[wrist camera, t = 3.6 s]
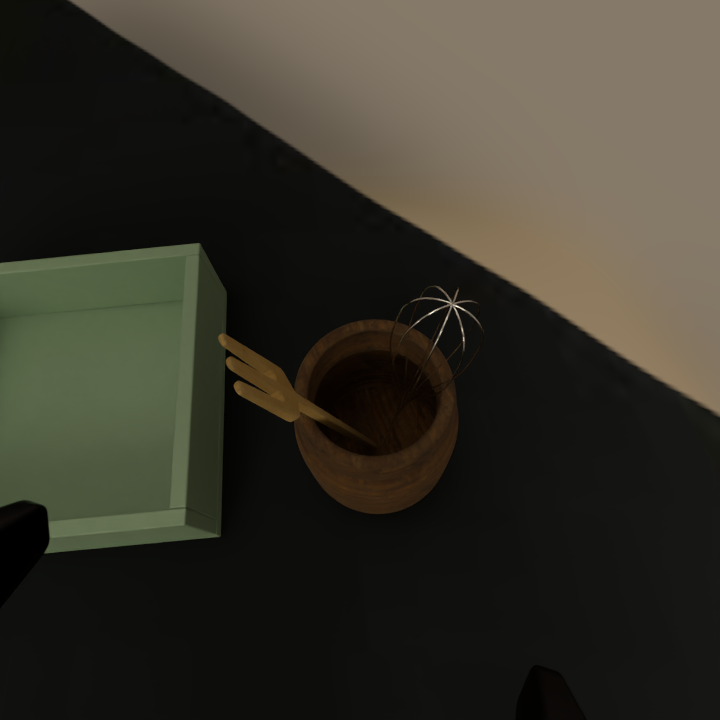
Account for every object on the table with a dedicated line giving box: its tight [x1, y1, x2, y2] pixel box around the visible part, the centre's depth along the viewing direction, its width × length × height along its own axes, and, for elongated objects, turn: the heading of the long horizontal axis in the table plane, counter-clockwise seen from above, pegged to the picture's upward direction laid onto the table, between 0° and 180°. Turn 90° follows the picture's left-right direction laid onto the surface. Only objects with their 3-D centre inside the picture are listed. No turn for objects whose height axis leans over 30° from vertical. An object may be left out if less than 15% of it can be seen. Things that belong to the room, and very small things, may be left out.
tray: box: [0, 243, 227, 553], centre depth 22 cm, size 12×12×4 cm
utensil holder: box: [218, 285, 484, 514], centre depth 17 cm, size 6×6×12 cm
